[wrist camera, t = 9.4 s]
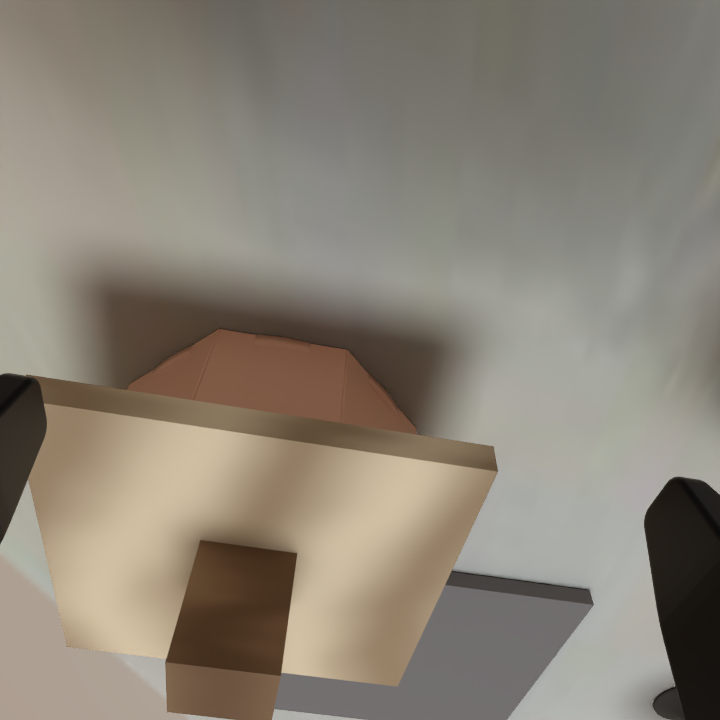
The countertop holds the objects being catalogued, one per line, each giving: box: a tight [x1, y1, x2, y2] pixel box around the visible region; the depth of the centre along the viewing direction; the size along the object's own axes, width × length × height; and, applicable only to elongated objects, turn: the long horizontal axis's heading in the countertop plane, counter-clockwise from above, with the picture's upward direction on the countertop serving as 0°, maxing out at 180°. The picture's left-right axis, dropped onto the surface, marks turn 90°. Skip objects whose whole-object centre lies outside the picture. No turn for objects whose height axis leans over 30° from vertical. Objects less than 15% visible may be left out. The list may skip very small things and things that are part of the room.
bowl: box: [127, 329, 416, 434], centre depth 24 cm, size 12×12×5 cm
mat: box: [274, 572, 594, 720], centre depth 35 cm, size 16×16×1 cm
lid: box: [26, 375, 498, 720], centre depth 20 cm, size 14×14×5 cm
